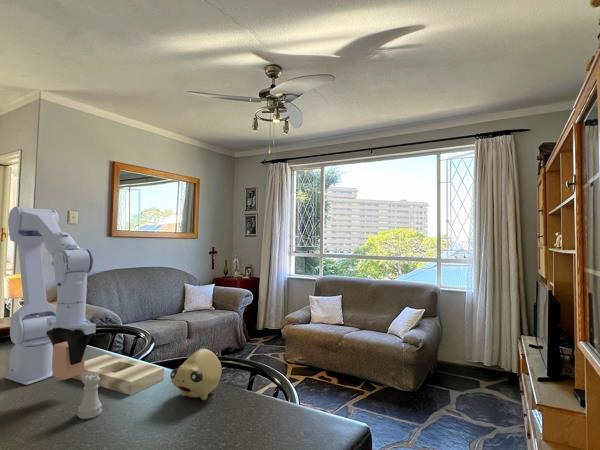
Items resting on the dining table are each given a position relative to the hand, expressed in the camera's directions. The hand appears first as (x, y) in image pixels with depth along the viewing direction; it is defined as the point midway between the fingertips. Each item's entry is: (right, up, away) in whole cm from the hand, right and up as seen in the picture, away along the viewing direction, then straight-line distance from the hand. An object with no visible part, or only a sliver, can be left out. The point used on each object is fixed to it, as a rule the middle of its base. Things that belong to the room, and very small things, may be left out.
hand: (68, 361), depth 81 cm
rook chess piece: (+10, -8, -8) cm, 15 cm away
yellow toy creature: (+29, -9, +1) cm, 30 cm away
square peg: (0, -3, 0) cm, 3 cm away
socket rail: (+6, -8, +10) cm, 14 cm away
